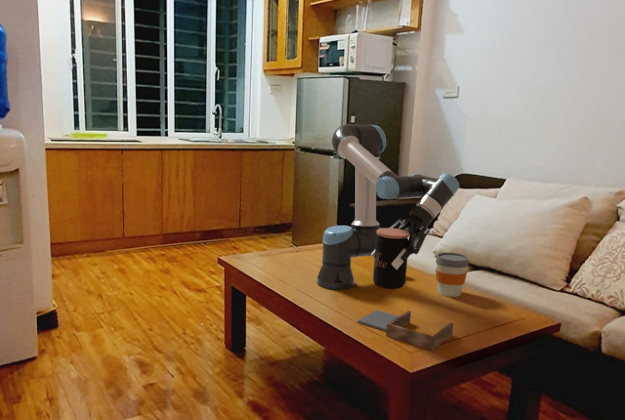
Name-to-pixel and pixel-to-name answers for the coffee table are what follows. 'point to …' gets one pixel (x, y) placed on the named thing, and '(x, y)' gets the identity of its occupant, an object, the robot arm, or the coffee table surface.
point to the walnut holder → (416, 333)
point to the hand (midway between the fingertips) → (383, 261)
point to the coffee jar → (389, 258)
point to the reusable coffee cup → (451, 273)
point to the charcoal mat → (377, 319)
